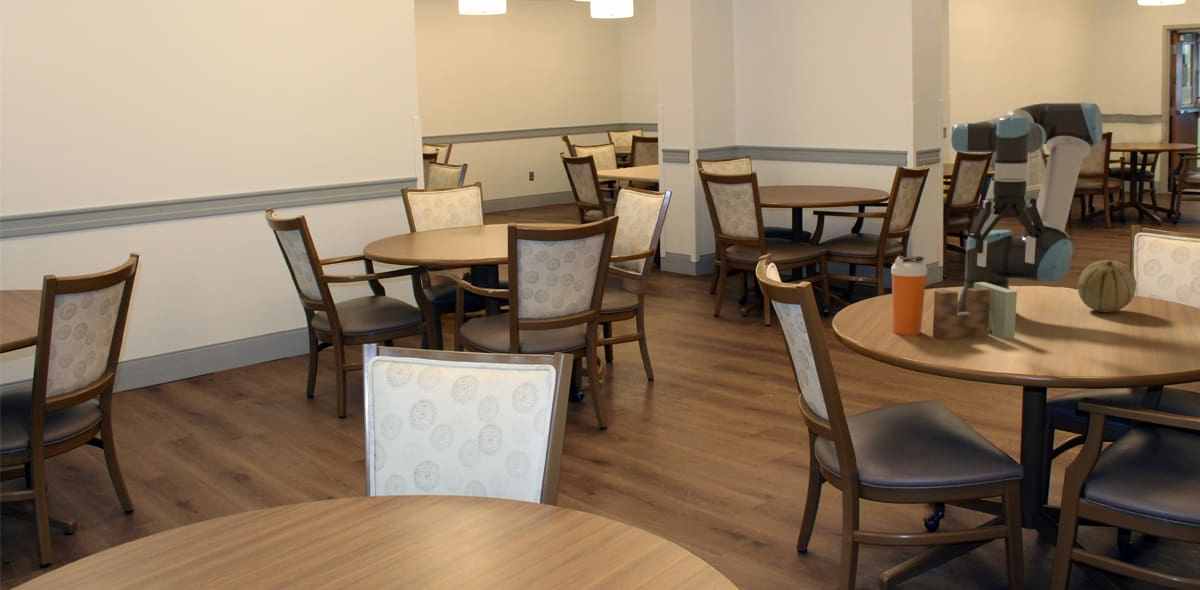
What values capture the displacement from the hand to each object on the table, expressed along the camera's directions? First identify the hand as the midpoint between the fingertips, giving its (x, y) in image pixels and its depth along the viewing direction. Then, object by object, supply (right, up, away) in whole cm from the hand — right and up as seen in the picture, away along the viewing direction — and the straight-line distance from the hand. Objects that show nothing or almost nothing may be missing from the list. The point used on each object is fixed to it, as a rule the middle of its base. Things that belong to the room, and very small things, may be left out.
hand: (1005, 264), depth 254 cm
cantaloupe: (+39, -13, +29) cm, 50 cm away
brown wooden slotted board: (-9, -18, +5) cm, 21 cm away
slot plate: (0, -17, +8) cm, 19 cm away
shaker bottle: (-22, -18, +11) cm, 30 cm away
